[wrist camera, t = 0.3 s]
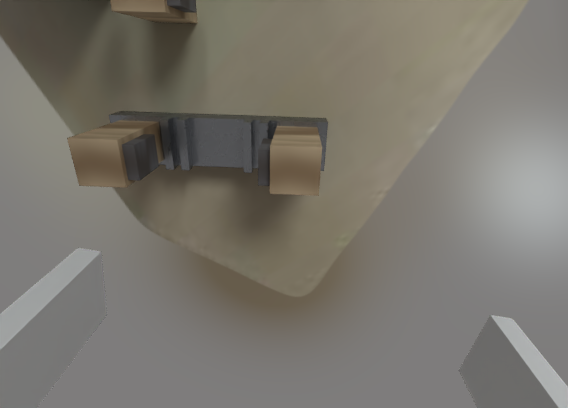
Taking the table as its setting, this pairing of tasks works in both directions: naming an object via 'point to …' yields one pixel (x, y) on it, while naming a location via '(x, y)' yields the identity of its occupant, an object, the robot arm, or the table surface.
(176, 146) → the rail
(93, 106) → the table surface
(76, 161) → the finger left
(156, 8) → the finger free
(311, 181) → the finger right
